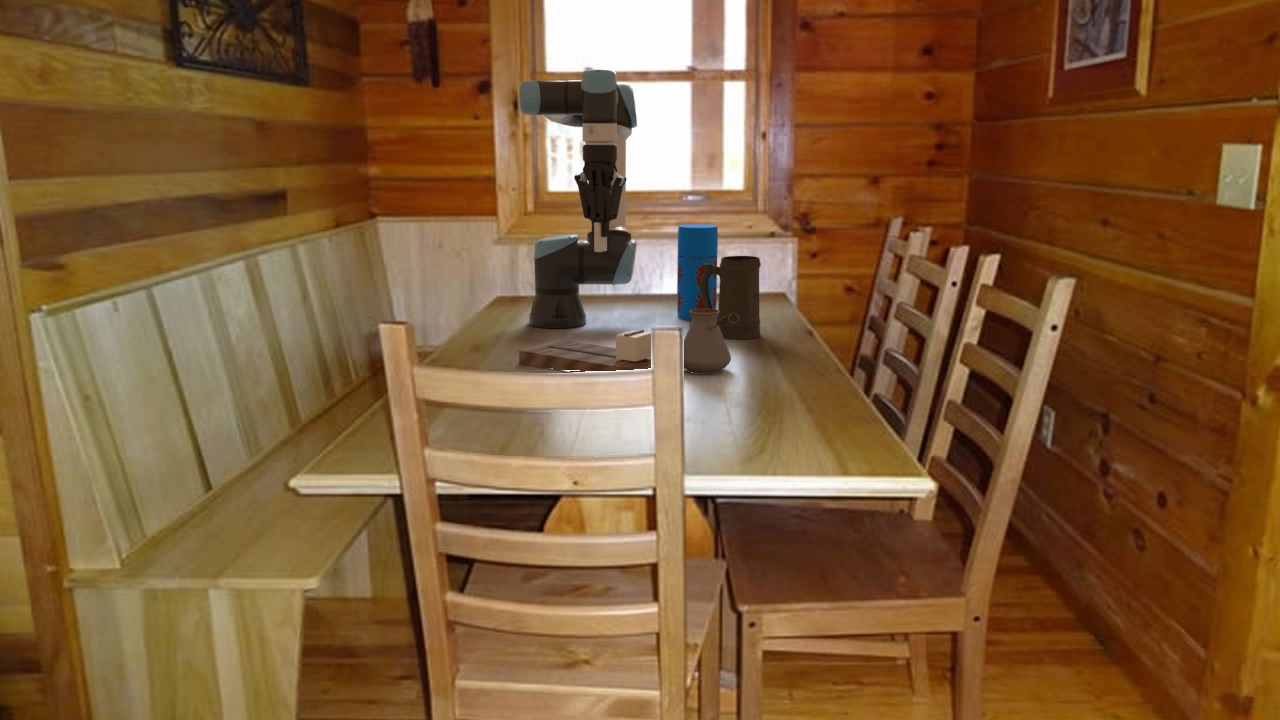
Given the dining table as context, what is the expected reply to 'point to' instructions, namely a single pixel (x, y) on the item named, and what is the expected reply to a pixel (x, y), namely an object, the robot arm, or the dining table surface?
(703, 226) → the thermos
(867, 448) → the dining table surface
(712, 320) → the coffee pot
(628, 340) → the fader knob
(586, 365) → the fader panel
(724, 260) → the beer stein
